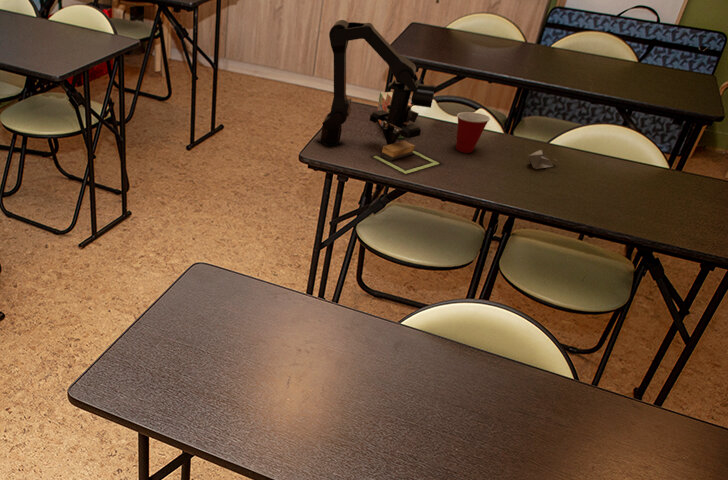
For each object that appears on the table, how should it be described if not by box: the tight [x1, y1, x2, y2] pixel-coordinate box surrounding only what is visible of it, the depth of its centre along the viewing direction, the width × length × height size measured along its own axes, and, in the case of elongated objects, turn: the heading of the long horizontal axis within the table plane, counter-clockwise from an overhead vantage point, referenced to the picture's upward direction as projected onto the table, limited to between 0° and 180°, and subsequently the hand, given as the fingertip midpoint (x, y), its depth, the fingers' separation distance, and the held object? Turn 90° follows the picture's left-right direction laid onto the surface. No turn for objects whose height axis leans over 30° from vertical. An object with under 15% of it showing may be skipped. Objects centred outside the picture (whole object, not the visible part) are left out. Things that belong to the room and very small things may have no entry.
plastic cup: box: [455, 111, 491, 154], centre depth 237 cm, size 11×11×12 cm
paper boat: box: [527, 149, 559, 170], centre depth 228 cm, size 12×6×9 cm
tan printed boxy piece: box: [376, 91, 413, 139], centre depth 251 cm, size 21×6×12 cm, turn 0°
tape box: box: [373, 150, 440, 175], centre depth 233 cm, size 16×15×1 cm
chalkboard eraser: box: [381, 140, 416, 161], centre depth 235 cm, size 10×5×4 cm, turn 122°
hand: (389, 148), depth 238 cm, fingers closed
